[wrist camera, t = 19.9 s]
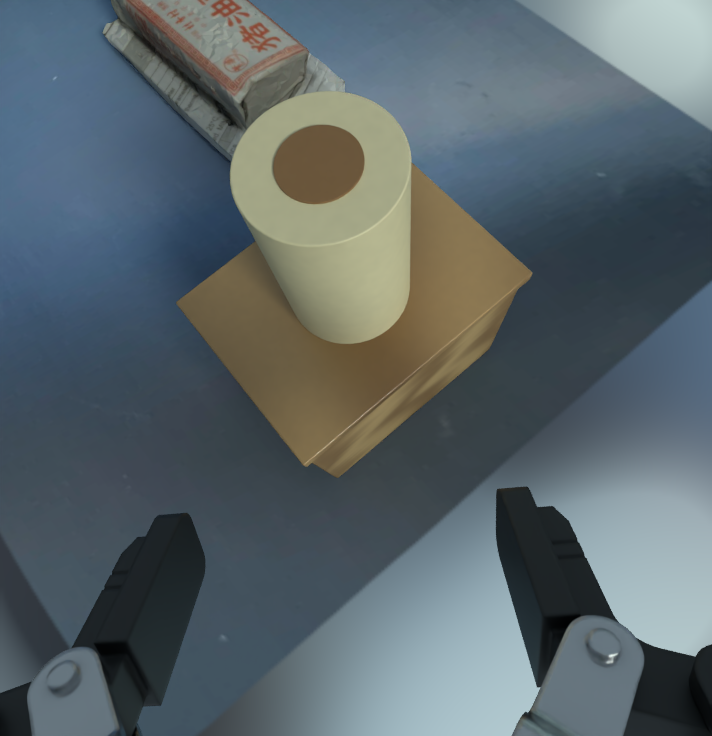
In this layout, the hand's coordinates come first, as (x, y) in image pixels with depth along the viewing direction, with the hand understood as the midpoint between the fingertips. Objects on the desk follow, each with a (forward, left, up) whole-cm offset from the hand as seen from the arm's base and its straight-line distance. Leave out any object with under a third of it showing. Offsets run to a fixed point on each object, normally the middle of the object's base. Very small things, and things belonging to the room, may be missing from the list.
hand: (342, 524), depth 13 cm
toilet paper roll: (+9, +2, -6) cm, 12 cm away
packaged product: (+31, +17, -16) cm, 39 cm away
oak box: (+9, +2, -16) cm, 19 cm away
